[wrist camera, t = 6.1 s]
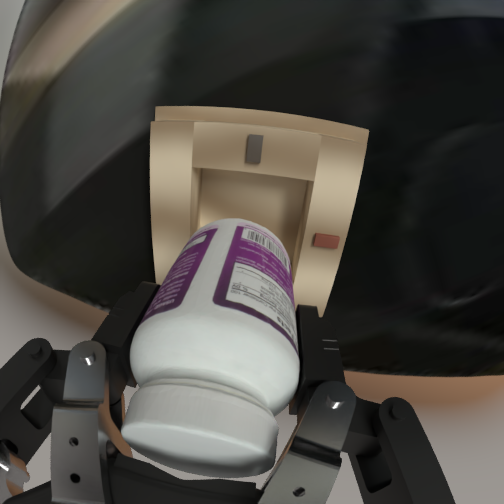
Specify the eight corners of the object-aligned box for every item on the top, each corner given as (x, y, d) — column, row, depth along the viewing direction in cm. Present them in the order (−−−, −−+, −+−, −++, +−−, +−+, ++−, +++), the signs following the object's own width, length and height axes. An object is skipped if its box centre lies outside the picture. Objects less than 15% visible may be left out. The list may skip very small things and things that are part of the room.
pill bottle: (201, 311, 15) (151, 472, 7) (171, 225, 13) (53, 390, 4) (297, 301, 15) (306, 484, 6) (283, 206, 12) (295, 415, 4)
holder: (159, 106, 17) (135, 107, 14) (366, 129, 17) (386, 134, 14) (161, 279, 24) (146, 304, 21) (325, 300, 24) (331, 329, 21)
